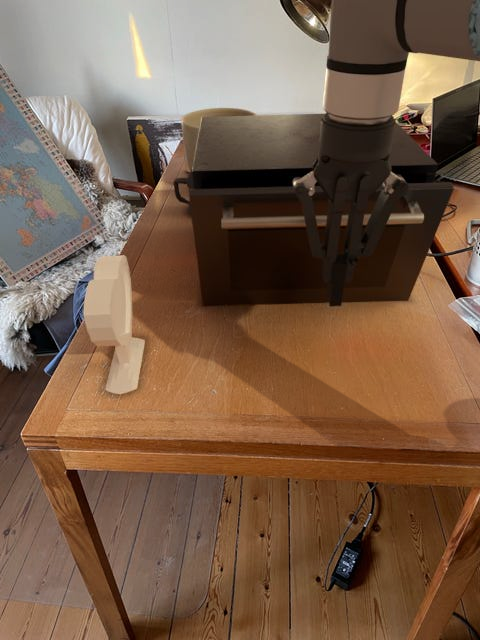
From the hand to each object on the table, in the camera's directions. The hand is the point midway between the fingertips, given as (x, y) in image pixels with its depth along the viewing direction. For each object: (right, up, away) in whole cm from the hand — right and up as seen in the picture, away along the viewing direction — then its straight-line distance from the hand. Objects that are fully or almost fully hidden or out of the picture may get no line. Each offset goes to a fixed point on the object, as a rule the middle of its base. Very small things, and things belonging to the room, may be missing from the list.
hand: (333, 300), depth 61 cm
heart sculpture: (-32, -10, +15) cm, 37 cm away
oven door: (0, 0, +27) cm, 27 cm away
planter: (-18, +37, +74) cm, 85 cm away
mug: (-24, +26, +61) cm, 70 cm away
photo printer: (-26, +46, +86) cm, 101 cm away
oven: (0, +12, +41) cm, 43 cm away
